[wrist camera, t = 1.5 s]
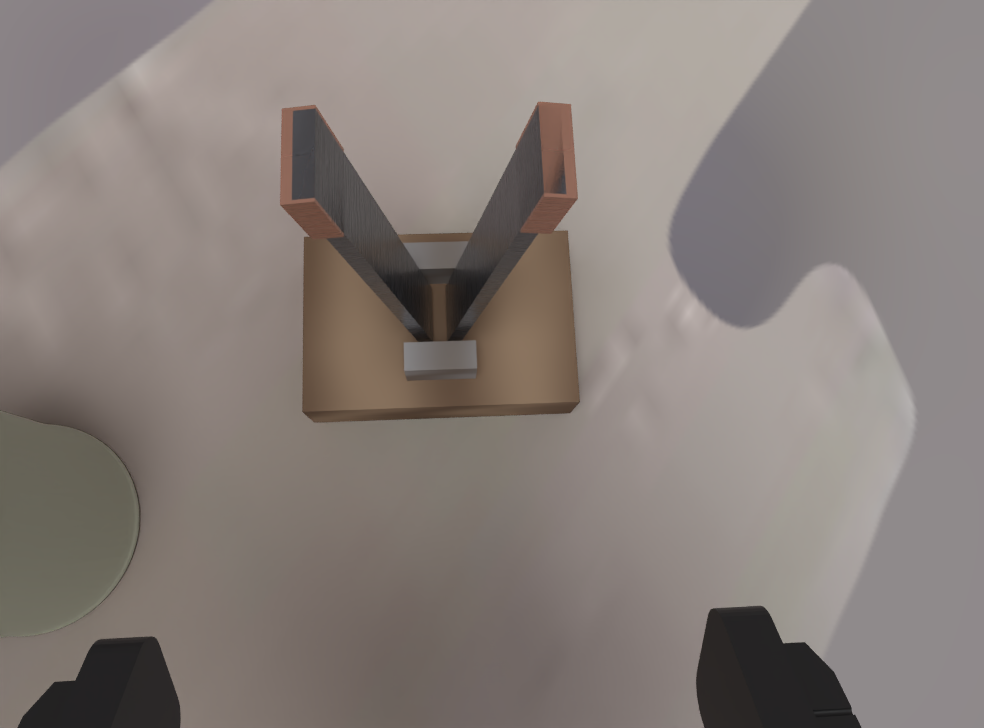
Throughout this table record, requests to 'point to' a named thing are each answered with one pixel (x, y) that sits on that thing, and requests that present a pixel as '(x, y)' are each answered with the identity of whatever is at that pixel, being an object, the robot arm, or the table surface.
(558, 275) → the stand
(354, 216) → the bar
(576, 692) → the table surface
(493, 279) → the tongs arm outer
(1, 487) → the can
